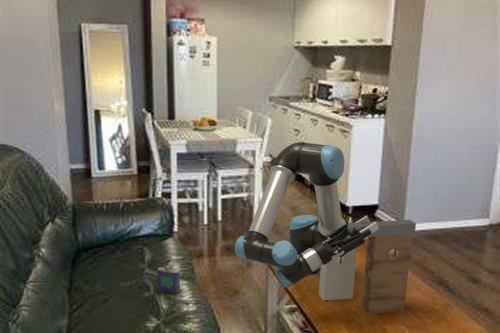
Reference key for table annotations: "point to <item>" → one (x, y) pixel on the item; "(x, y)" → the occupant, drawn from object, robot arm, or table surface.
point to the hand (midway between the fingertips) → (372, 222)
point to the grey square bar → (384, 228)
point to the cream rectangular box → (338, 277)
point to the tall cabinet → (386, 273)
